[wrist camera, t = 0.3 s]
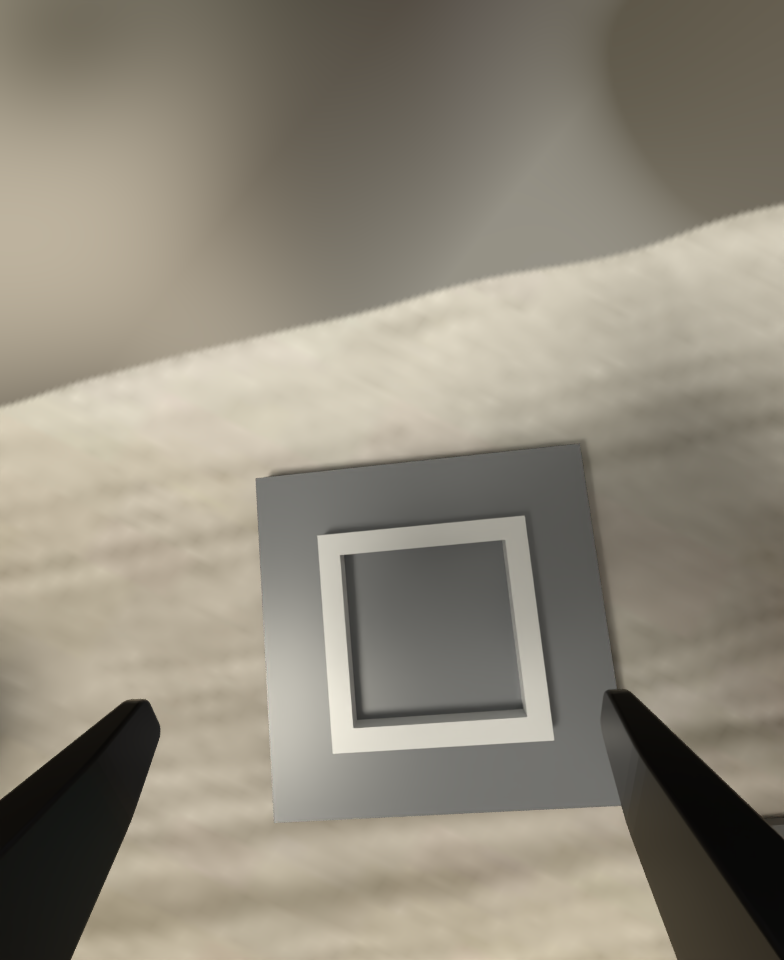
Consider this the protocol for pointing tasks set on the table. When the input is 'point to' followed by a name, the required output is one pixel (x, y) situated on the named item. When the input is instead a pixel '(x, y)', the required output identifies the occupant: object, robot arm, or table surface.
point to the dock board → (434, 638)
